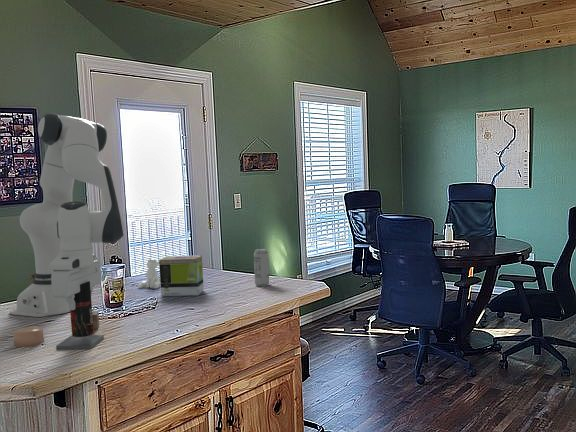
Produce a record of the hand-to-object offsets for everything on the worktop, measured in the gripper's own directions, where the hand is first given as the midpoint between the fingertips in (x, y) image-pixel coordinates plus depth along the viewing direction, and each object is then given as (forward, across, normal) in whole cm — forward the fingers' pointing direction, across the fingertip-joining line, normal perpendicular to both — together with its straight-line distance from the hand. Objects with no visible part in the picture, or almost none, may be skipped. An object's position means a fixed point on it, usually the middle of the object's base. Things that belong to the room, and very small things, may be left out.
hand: (80, 306), depth 167 cm
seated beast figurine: (+11, -78, -15) cm, 80 cm away
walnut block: (+11, -15, -6) cm, 19 cm away
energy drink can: (+12, -83, +32) cm, 90 cm away
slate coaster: (+11, 0, 0) cm, 11 cm away
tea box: (+11, -66, +4) cm, 67 cm away
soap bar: (+7, +1, -16) cm, 18 cm away
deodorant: (+8, 0, 0) cm, 8 cm away
